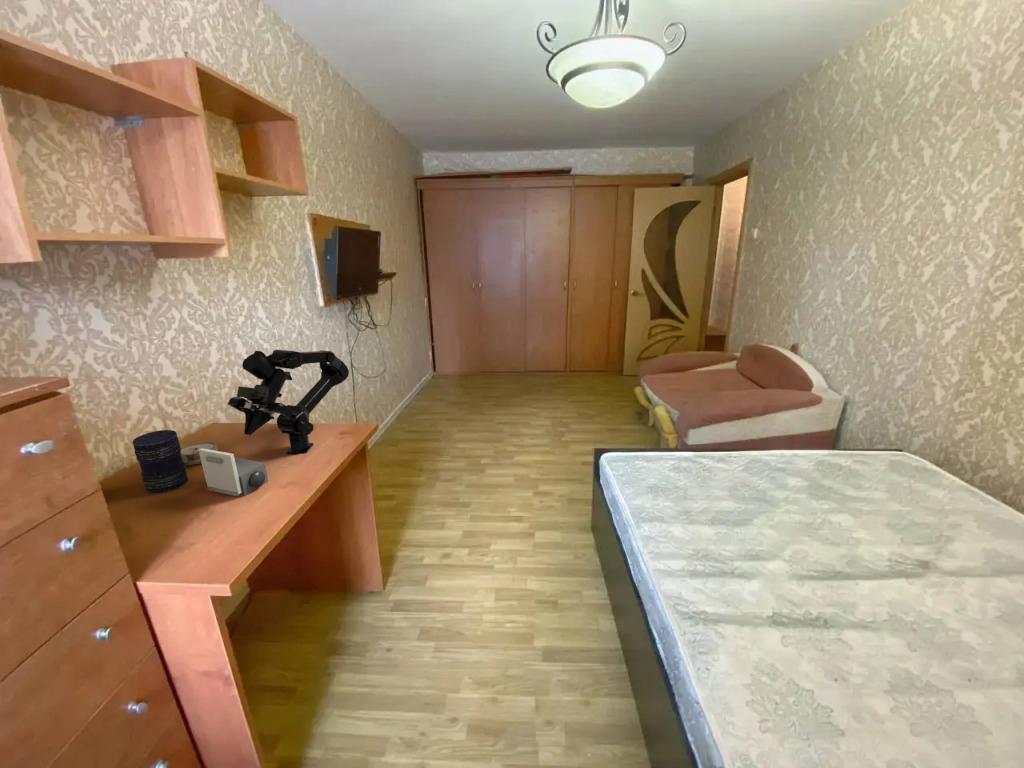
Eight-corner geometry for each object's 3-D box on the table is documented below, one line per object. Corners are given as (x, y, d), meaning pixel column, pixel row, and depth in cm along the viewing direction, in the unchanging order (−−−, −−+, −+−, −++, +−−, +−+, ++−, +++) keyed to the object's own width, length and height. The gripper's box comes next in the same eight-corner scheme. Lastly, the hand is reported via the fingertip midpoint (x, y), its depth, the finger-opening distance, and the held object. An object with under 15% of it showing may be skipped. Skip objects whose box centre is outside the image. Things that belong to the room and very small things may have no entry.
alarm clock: (221, 439, 147) (207, 451, 133) (223, 453, 148) (210, 466, 134) (181, 444, 143) (163, 457, 129) (184, 458, 144) (166, 473, 130)
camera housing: (236, 475, 130) (232, 457, 128) (271, 482, 126) (268, 463, 125) (211, 488, 123) (207, 470, 121) (248, 496, 119) (244, 477, 117)
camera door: (211, 487, 122) (201, 448, 118) (242, 494, 119) (233, 453, 115) (205, 491, 120) (195, 451, 117) (236, 497, 118) (227, 457, 114)
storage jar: (176, 493, 121) (164, 444, 116) (137, 495, 119) (122, 446, 114) (195, 474, 130) (184, 429, 125) (159, 476, 129) (146, 430, 124)
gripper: (226, 371, 127) (199, 419, 121) (278, 377, 122) (252, 428, 116) (253, 388, 137) (229, 434, 130) (302, 394, 132) (280, 442, 125)
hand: (247, 434), depth 125 cm, fingers closed
